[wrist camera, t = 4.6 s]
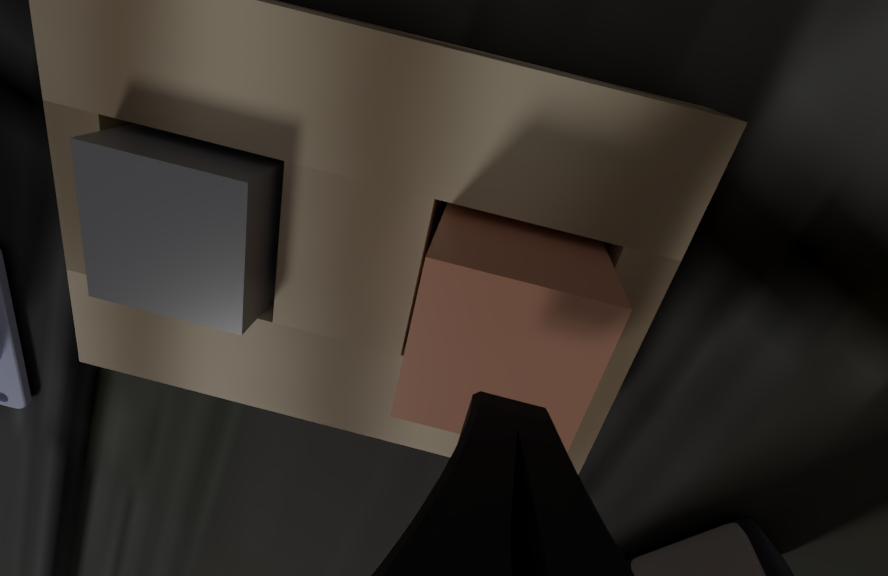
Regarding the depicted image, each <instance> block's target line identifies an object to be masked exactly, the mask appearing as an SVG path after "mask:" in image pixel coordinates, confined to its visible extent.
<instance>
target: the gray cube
mask: <svg viewBox="0 0 888 576" xmlns="http://www.w3.org/2000/svg"><path fill="white" fill-rule="evenodd" d="M70 145H71V154H72V162H73V170H74V178H75V187H76V195H77V203H78V211H79V220H80V228H81V236H82V244H83V252H84V261H85V269H86V277H87V285H88V294H89V296H90V297H94V298H98V299H102V300H106V301H109V302H113V303H117V304H121V305H125V306H129V307H133V308H137V309H141V310H144V311H148V312H152V313H156V314H160V315H164V316H168V317H172V318H176V319H180V320H183V321H187V322H191V323H195V324H199V325H203V326H207V327H211V328H215V329H218V330H222V331H226V332H230V333H234V334H238V335H243V334H244V333H245V332H246V330H247V329H248V328H249V327H250V326H251V325H252V324H253V323H254V322H255V321H256V319H257V318H258V317H259V316H260V315H261V314H262V313H263V312H264V311H265V310H266V309H267V307H268V306H269V305H270V304H271V303H272V302H273V301H274V298H275V284H276V270H277V256H278V243H279V229H280V215H281V202H282V188H283V174H284V161H282V160H279V159H275V158H271V157H267V156H263V155H259V154H255V153H251V152H247V151H243V150H239V149H235V148H231V147H227V146H223V145H219V144H215V143H211V142H207V141H203V140H199V139H195V138H191V137H187V136H183V135H179V134H176V133H172V132H168V131H164V130H160V129H156V128H152V127H148V126H144V125H140V124H136V123H133V124H128V125H124V126H119V127H115V128H110V129H106V130H101V131H97V132H92V133H88V134H84V135H79V136H75V137H70Z"/></svg>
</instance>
